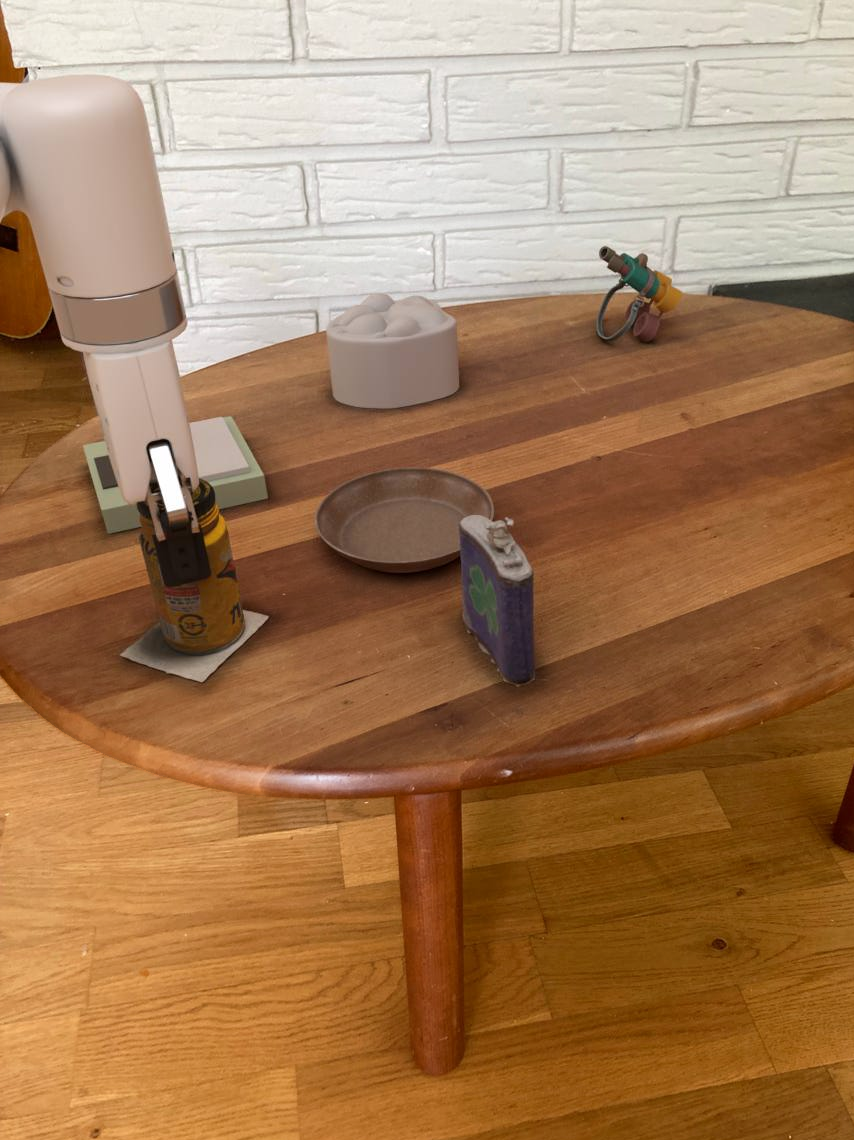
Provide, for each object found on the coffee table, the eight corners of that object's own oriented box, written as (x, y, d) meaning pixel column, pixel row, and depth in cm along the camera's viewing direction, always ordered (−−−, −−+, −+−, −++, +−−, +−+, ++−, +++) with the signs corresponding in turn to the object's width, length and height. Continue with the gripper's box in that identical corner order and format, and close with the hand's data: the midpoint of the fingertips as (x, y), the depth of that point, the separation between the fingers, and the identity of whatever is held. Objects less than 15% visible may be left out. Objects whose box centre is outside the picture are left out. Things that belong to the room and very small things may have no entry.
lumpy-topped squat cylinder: (468, 393, 113) (465, 312, 107) (350, 418, 109) (341, 335, 103) (431, 357, 120) (427, 280, 115) (319, 379, 116) (310, 300, 111)
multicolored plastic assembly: (639, 368, 122) (693, 292, 117) (574, 331, 118) (627, 250, 113) (620, 337, 129) (670, 263, 124) (558, 301, 125) (607, 223, 121)
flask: (457, 619, 81) (452, 495, 75) (492, 609, 82) (490, 485, 75) (508, 691, 74) (508, 561, 68) (546, 679, 75) (549, 550, 69)
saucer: (409, 611, 82) (407, 581, 80) (281, 545, 90) (277, 517, 88) (530, 530, 91) (530, 503, 89) (404, 477, 99) (402, 450, 97)
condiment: (269, 618, 82) (245, 479, 74) (202, 684, 76) (168, 540, 68) (191, 596, 84) (160, 460, 77) (120, 658, 78) (79, 517, 71)
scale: (108, 534, 92) (99, 503, 90) (89, 467, 101) (81, 439, 100) (268, 498, 96) (263, 468, 94) (235, 438, 106) (230, 410, 104)
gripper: (42, 273, 70) (107, 511, 81) (72, 371, 58) (145, 637, 69) (157, 256, 73) (206, 489, 84) (211, 346, 60) (260, 607, 71)
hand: (178, 554), depth 76 cm, fingers closed on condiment, 6 cm apart
